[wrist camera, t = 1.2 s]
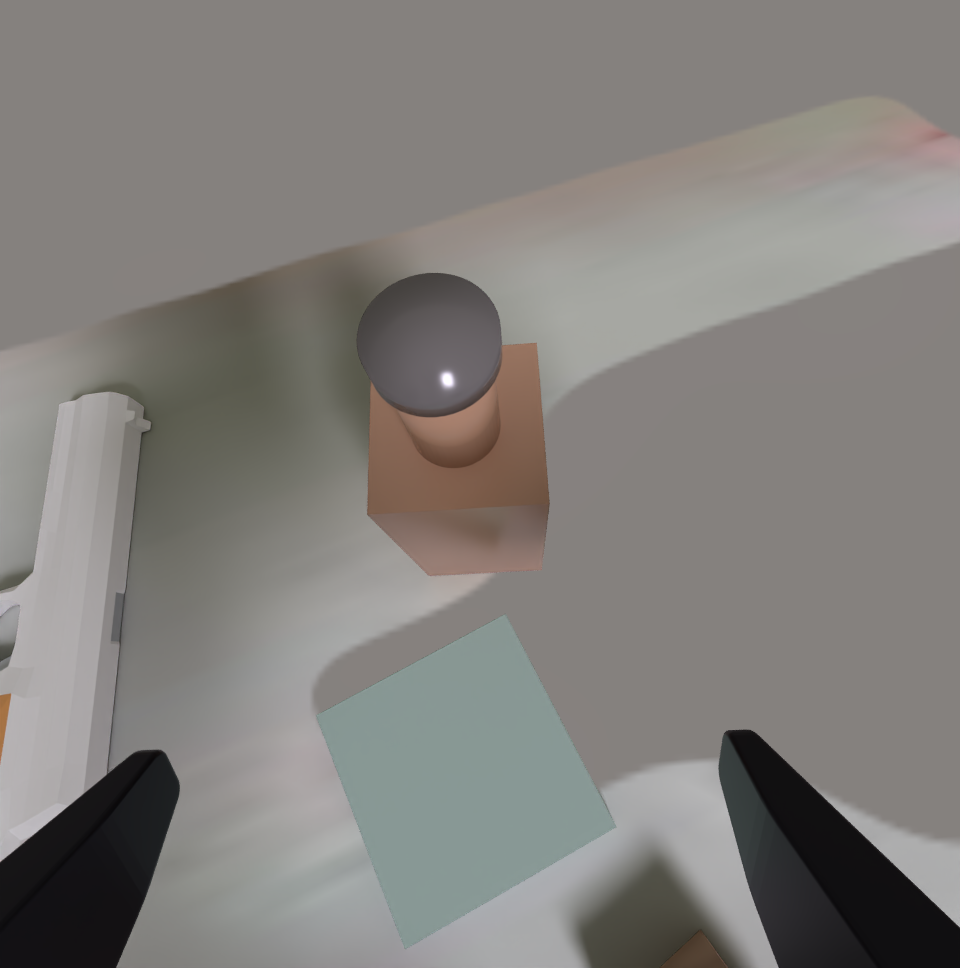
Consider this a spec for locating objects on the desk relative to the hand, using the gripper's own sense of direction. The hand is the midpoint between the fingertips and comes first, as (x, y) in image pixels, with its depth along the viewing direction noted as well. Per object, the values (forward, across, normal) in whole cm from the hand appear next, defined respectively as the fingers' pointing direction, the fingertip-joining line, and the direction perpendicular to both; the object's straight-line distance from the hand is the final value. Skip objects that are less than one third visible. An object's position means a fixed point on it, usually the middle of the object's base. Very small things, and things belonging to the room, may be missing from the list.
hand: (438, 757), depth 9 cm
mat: (+8, +1, +11) cm, 13 cm away
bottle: (+15, 0, +4) cm, 15 cm away
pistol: (+13, +20, +7) cm, 25 cm away
